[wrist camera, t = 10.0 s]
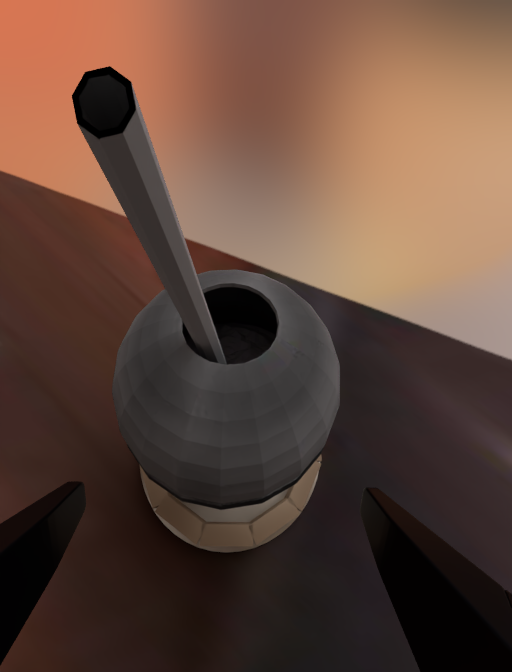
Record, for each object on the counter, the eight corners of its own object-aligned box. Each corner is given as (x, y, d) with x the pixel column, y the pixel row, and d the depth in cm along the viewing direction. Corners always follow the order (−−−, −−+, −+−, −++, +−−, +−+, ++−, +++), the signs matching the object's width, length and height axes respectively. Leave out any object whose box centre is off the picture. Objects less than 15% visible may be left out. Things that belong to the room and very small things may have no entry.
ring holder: (353, 478, 19) (366, 476, 17) (180, 604, 15) (174, 619, 13) (264, 339, 24) (266, 327, 22) (120, 403, 20) (110, 394, 18)
